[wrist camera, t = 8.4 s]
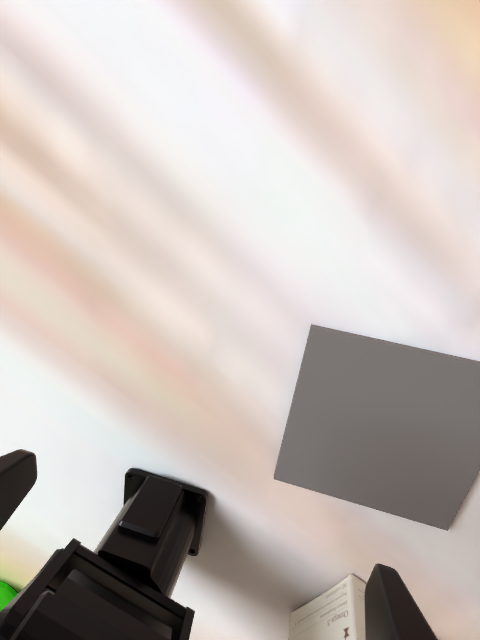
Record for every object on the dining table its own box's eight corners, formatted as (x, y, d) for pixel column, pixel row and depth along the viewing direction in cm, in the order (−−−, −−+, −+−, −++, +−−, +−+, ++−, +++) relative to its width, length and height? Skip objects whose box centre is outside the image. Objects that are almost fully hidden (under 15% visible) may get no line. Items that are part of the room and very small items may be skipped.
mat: (444, 522, 21) (447, 530, 21) (274, 472, 23) (273, 478, 22) (521, 370, 17) (527, 376, 17) (311, 324, 19) (310, 327, 19)
